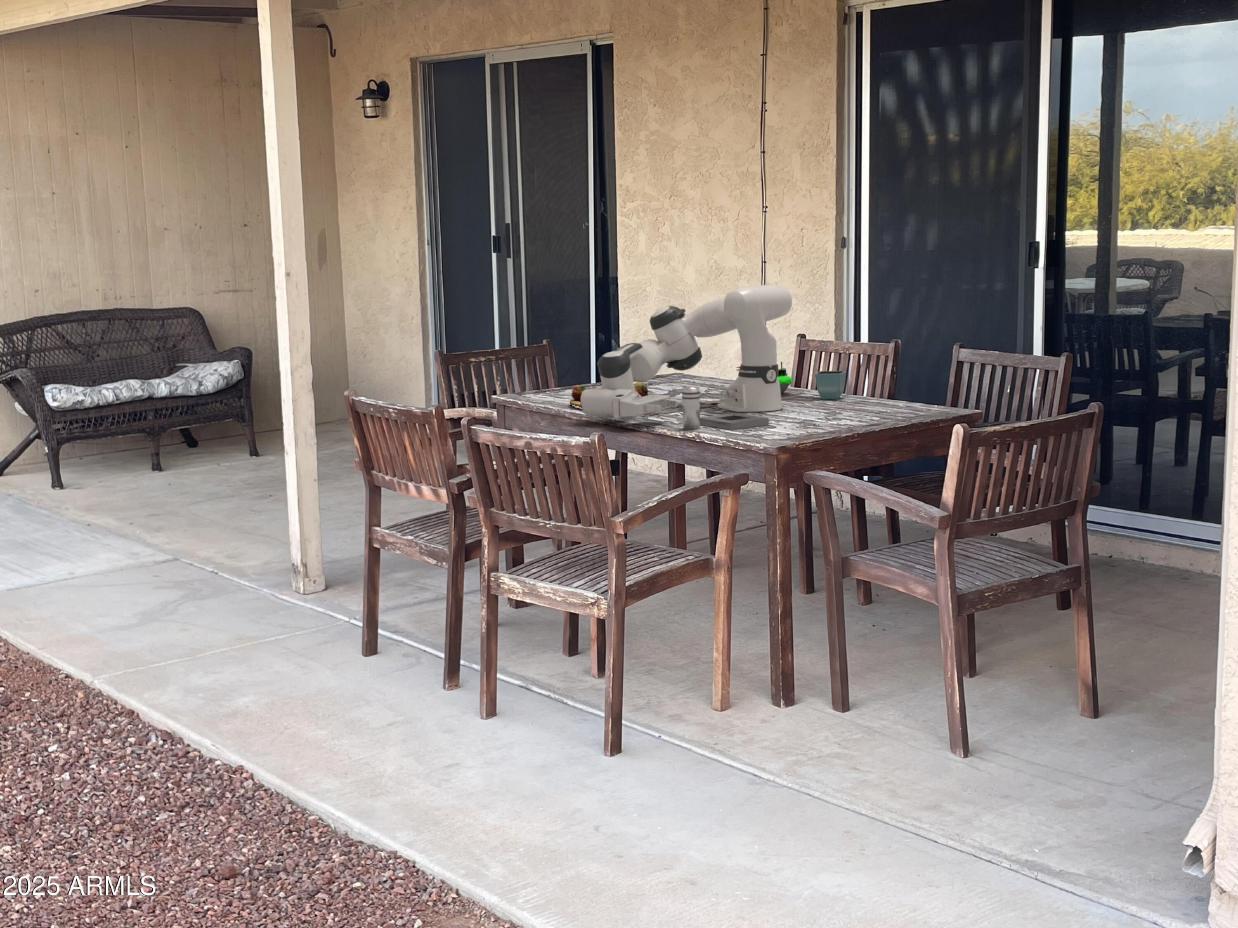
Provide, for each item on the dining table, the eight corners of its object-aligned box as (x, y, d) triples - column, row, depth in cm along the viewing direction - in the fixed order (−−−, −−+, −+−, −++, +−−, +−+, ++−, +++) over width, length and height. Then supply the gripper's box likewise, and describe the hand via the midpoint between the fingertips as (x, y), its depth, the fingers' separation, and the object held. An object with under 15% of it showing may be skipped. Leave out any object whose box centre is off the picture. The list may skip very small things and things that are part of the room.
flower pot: (820, 397, 462) (819, 370, 461) (846, 397, 459) (846, 370, 458) (814, 400, 454) (814, 373, 452) (841, 400, 451) (841, 373, 450)
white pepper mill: (679, 428, 402) (678, 387, 400) (693, 426, 405) (692, 386, 403) (689, 430, 398) (689, 389, 396) (704, 428, 401) (703, 387, 399)
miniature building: (773, 392, 482) (772, 360, 481) (798, 393, 474) (798, 361, 472) (749, 395, 474) (749, 363, 473) (775, 397, 466) (774, 364, 464)
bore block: (697, 424, 409) (697, 417, 409) (734, 419, 417) (734, 413, 416) (731, 430, 396) (731, 423, 396) (768, 424, 404) (768, 418, 403)
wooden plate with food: (558, 412, 450) (557, 387, 448) (583, 398, 480) (583, 375, 478) (654, 414, 442) (654, 389, 441) (673, 400, 472) (673, 376, 471)
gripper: (646, 410, 420) (686, 412, 413) (611, 419, 403) (652, 421, 396) (645, 389, 419) (685, 391, 412) (610, 398, 402) (651, 399, 395)
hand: (669, 406), depth 404 cm, fingers open, 8 cm apart
